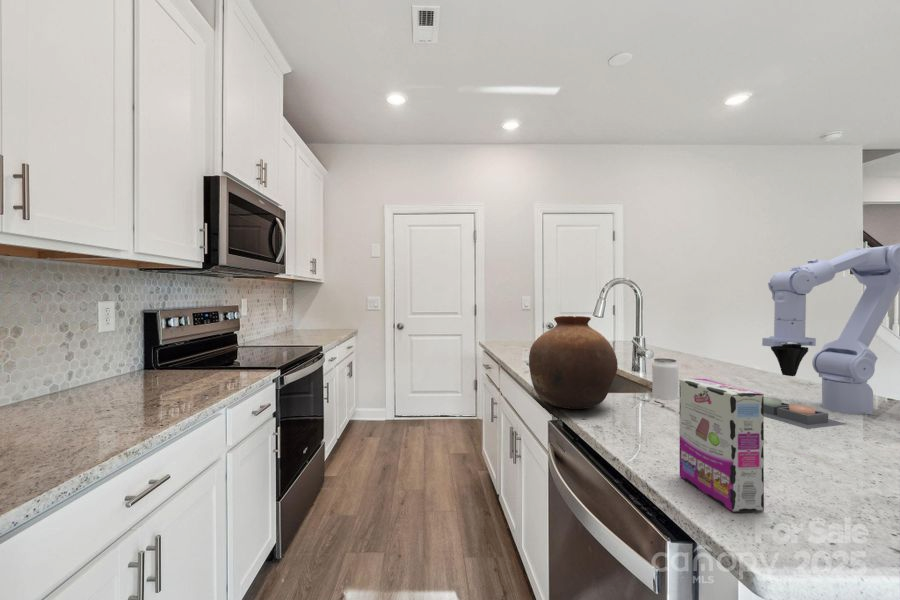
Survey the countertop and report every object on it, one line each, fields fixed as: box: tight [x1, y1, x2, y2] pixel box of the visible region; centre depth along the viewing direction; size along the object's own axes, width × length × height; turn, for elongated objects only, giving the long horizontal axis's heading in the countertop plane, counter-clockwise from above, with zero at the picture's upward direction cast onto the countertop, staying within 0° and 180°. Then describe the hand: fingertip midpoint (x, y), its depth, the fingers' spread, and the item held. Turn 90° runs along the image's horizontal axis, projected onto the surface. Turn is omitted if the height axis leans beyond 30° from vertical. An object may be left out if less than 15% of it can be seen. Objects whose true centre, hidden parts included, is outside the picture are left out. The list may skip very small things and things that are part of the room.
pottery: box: [528, 315, 619, 410], centre depth 104 cm, size 23×23×25 cm
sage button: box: [763, 396, 783, 406], centre depth 94 cm, size 4×4×2 cm
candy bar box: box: [678, 378, 765, 513], centre depth 58 cm, size 11×5×16 cm, turn 5°
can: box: [651, 357, 680, 405], centre depth 108 cm, size 6×6×12 cm
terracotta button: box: [789, 403, 816, 415], centre depth 87 cm, size 4×4×2 cm
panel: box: [764, 402, 847, 430], centre depth 94 cm, size 12×24×4 cm, turn 14°
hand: (788, 375), depth 93 cm, fingers closed
